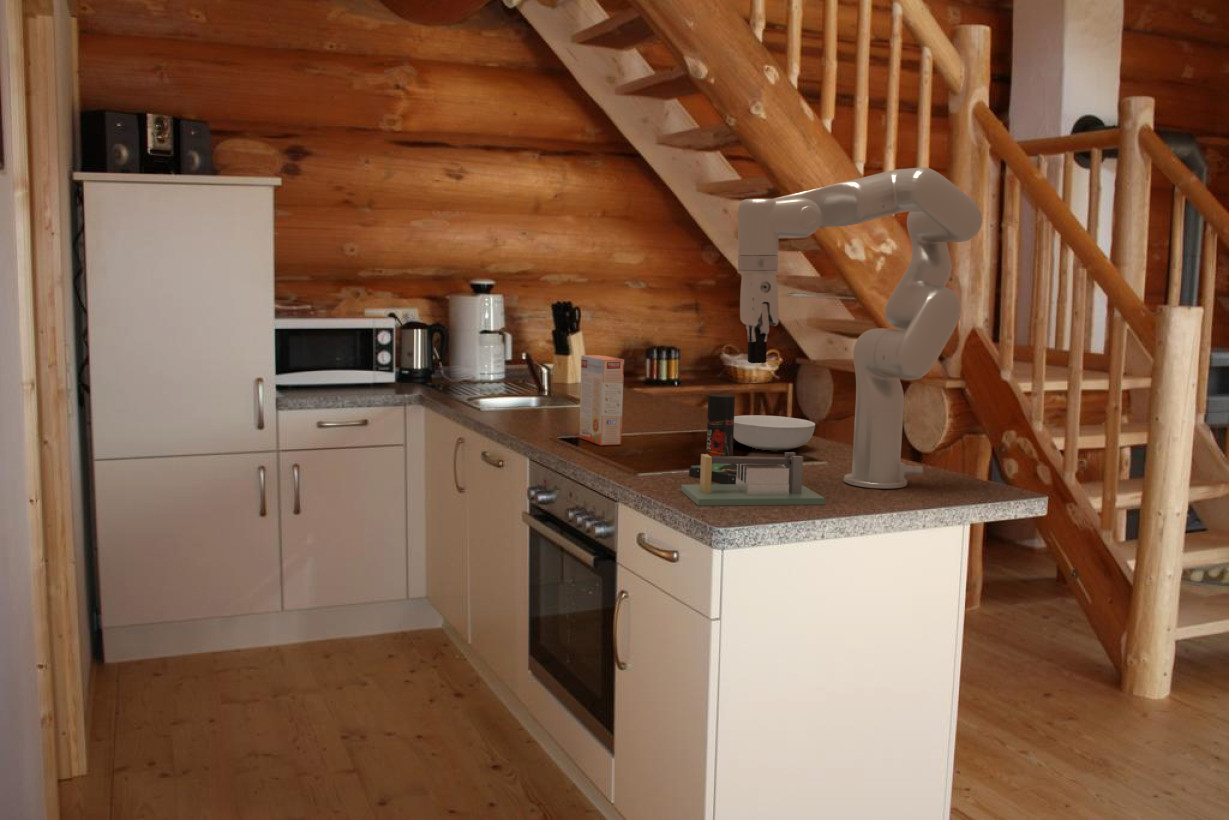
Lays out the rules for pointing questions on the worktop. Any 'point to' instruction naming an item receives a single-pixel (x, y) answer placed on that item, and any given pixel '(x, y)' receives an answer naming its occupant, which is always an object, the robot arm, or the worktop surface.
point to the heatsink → (762, 479)
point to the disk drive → (718, 473)
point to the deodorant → (720, 425)
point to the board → (732, 496)
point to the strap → (751, 460)
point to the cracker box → (601, 399)
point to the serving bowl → (772, 431)
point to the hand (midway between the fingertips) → (757, 362)
